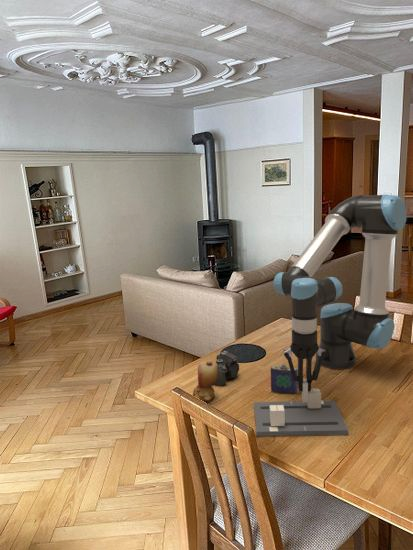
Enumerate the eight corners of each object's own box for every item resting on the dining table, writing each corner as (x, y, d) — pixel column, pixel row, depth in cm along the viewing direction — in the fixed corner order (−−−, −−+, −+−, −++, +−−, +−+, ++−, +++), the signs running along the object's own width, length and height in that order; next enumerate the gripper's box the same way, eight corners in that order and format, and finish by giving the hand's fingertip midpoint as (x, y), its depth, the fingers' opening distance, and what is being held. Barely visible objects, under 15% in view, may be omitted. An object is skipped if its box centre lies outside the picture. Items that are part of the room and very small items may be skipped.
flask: (298, 390, 142) (297, 362, 140) (297, 395, 140) (297, 366, 137) (271, 388, 145) (270, 360, 142) (270, 392, 142) (269, 364, 140)
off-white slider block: (319, 403, 131) (319, 388, 129) (321, 408, 128) (321, 393, 126) (306, 403, 131) (306, 388, 130) (308, 408, 128) (308, 393, 127)
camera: (234, 387, 147) (233, 362, 145) (208, 385, 150) (206, 360, 147) (242, 371, 159) (241, 347, 157) (217, 369, 162) (215, 345, 160)
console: (334, 404, 133) (334, 400, 132) (348, 434, 117) (348, 429, 117) (253, 406, 134) (253, 401, 134) (256, 436, 119) (256, 431, 118)
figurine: (190, 391, 146) (198, 353, 143) (211, 394, 147) (219, 356, 144) (192, 406, 136) (200, 365, 133) (214, 409, 137) (222, 368, 134)
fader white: (283, 420, 123) (283, 404, 121) (284, 425, 120) (284, 410, 119) (269, 420, 123) (269, 404, 122) (270, 426, 120) (270, 410, 119)
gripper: (323, 324, 127) (323, 393, 132) (281, 325, 128) (282, 394, 133) (329, 333, 119) (328, 406, 125) (284, 334, 120) (285, 406, 126)
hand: (304, 399), depth 129 cm, fingers closed
